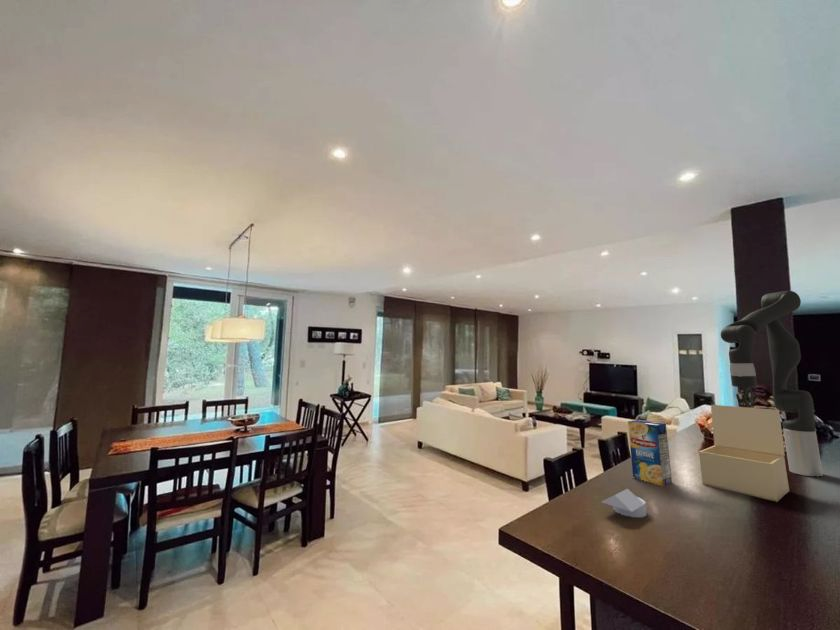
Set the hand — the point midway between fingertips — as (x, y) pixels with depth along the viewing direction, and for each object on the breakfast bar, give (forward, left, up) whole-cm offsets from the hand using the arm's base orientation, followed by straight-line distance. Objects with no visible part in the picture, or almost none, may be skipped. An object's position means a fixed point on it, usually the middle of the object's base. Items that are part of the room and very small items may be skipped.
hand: (748, 418), depth 138 cm
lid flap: (+6, 0, -3) cm, 7 cm away
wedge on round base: (+71, -14, -23) cm, 76 cm away
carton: (+15, 0, -23) cm, 28 cm away
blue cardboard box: (+33, -23, -23) cm, 47 cm away
